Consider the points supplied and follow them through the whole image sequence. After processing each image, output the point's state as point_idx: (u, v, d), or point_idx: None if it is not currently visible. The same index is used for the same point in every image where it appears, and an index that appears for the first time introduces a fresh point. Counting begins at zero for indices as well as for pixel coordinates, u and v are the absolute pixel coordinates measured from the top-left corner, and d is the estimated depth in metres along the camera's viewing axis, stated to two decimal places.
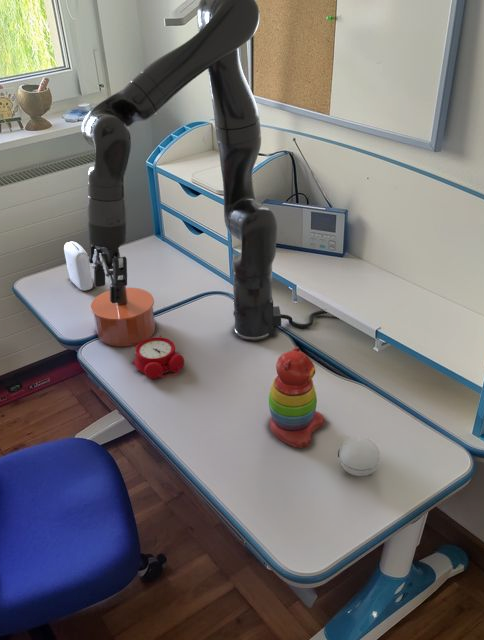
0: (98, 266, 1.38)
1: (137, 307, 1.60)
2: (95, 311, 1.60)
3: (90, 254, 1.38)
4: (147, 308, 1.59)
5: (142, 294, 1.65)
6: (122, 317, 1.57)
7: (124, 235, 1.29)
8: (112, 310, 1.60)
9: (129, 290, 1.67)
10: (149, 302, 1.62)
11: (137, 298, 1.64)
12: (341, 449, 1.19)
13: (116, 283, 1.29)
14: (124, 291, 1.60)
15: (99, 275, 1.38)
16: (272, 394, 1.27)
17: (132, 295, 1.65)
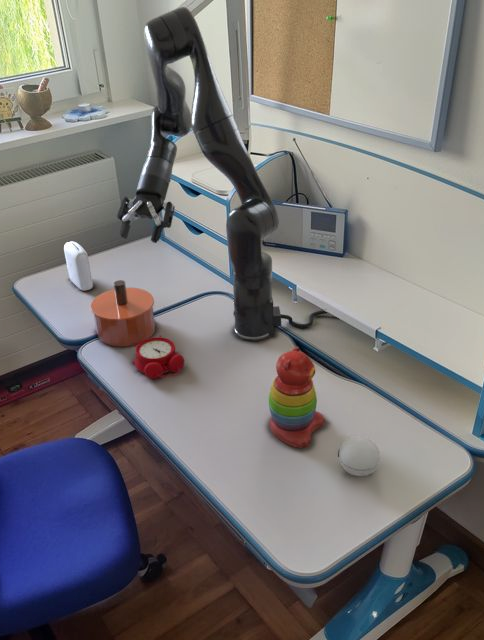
0: None
1: (137, 307, 1.60)
2: (95, 311, 1.60)
3: None
4: (147, 308, 1.59)
5: (142, 294, 1.65)
6: (122, 317, 1.57)
7: (138, 184, 1.65)
8: (112, 310, 1.60)
9: (129, 290, 1.67)
10: (149, 302, 1.62)
11: (137, 298, 1.64)
12: (341, 449, 1.19)
13: None
14: (124, 291, 1.60)
15: None
16: (272, 394, 1.27)
17: (132, 295, 1.65)
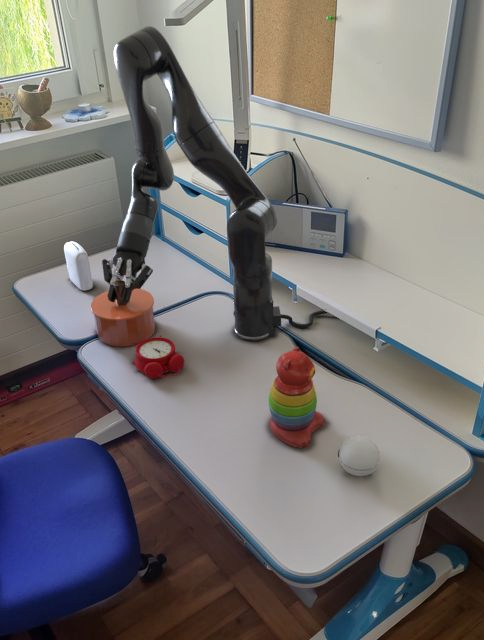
0: None
1: (137, 307, 1.60)
2: (95, 311, 1.60)
3: None
4: (147, 308, 1.59)
5: (142, 294, 1.65)
6: (122, 317, 1.57)
7: (118, 241, 1.61)
8: (112, 310, 1.60)
9: None
10: (149, 302, 1.62)
11: (137, 298, 1.64)
12: (341, 449, 1.19)
13: None
14: None
15: None
16: (272, 394, 1.27)
17: (132, 295, 1.65)
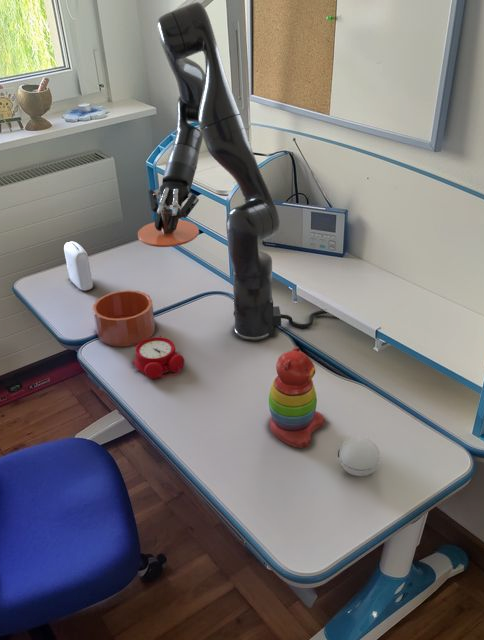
0: None
1: (183, 235, 1.65)
2: (143, 239, 1.65)
3: None
4: (193, 236, 1.65)
5: (187, 224, 1.71)
6: (170, 243, 1.62)
7: (165, 171, 1.66)
8: (159, 238, 1.65)
9: None
10: (194, 231, 1.67)
11: (182, 228, 1.69)
12: (341, 449, 1.19)
13: None
14: None
15: None
16: (272, 394, 1.27)
17: (177, 225, 1.70)
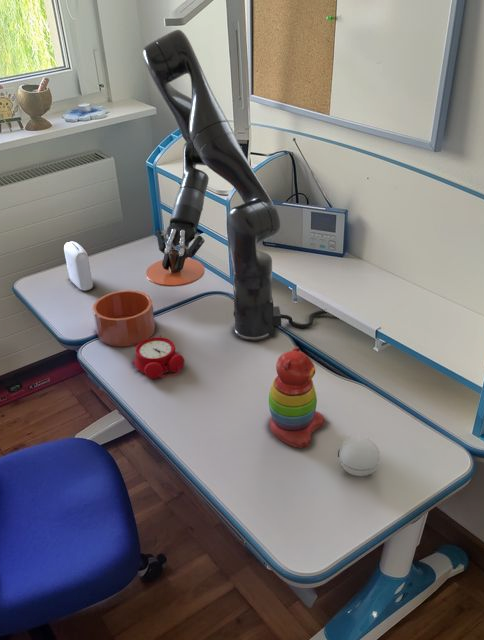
0: None
1: (189, 274, 1.72)
2: (151, 278, 1.72)
3: None
4: (199, 275, 1.72)
5: (193, 263, 1.78)
6: (177, 283, 1.69)
7: (172, 213, 1.73)
8: (167, 277, 1.72)
9: None
10: (200, 270, 1.74)
11: (189, 267, 1.76)
12: (341, 449, 1.19)
13: None
14: None
15: None
16: (272, 394, 1.27)
17: None
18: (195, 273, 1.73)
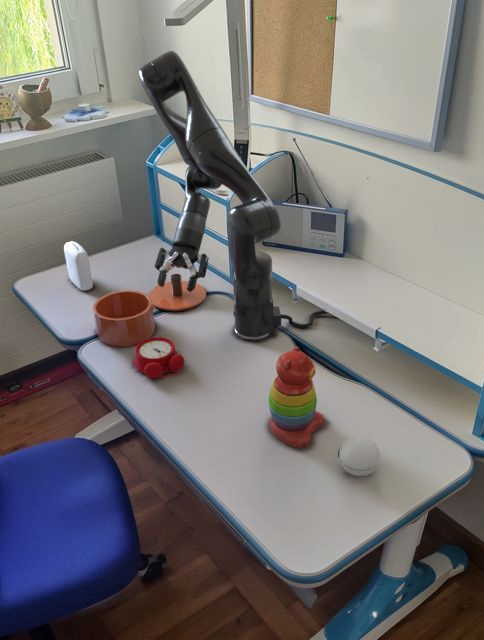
0: None
1: (191, 298, 1.76)
2: (154, 302, 1.76)
3: None
4: (201, 299, 1.76)
5: (195, 286, 1.82)
6: (179, 307, 1.73)
7: (174, 237, 1.77)
8: (169, 300, 1.76)
9: (182, 283, 1.84)
10: (202, 294, 1.78)
11: None
12: (341, 449, 1.19)
13: None
14: (180, 283, 1.76)
15: None
16: (272, 394, 1.27)
17: (185, 287, 1.82)
18: (197, 297, 1.77)
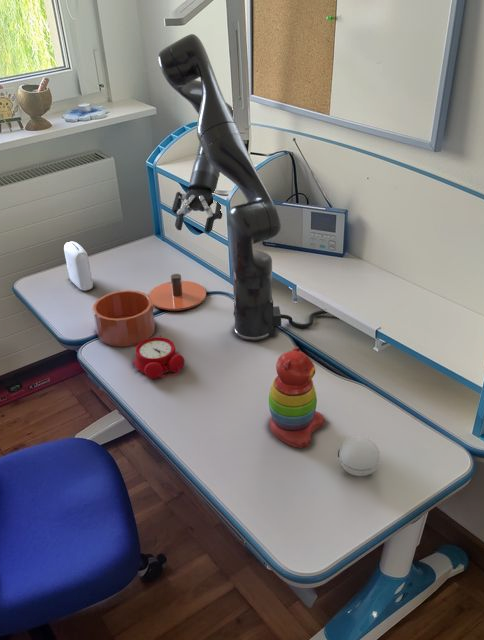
0: None
1: (191, 298, 1.76)
2: (154, 302, 1.76)
3: None
4: (201, 299, 1.76)
5: (195, 286, 1.82)
6: (179, 307, 1.73)
7: (190, 180, 1.80)
8: (169, 300, 1.76)
9: (182, 283, 1.84)
10: (202, 294, 1.78)
11: (191, 290, 1.80)
12: (341, 449, 1.19)
13: None
14: (180, 283, 1.76)
15: None
16: (272, 394, 1.27)
17: (185, 287, 1.82)
18: (197, 297, 1.77)
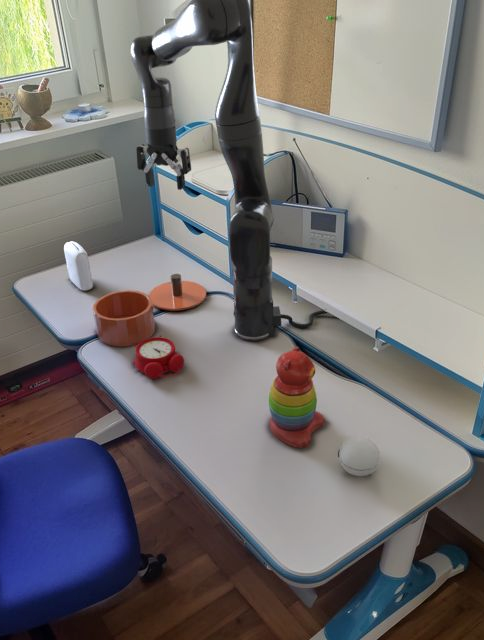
0: None
1: (191, 298, 1.76)
2: (154, 302, 1.76)
3: None
4: (201, 299, 1.76)
5: (195, 286, 1.82)
6: (179, 307, 1.73)
7: (146, 137, 1.63)
8: (169, 300, 1.76)
9: (182, 283, 1.84)
10: (202, 294, 1.78)
11: (191, 290, 1.80)
12: (341, 449, 1.19)
13: None
14: (180, 283, 1.76)
15: None
16: (272, 394, 1.27)
17: (185, 287, 1.82)
18: (197, 297, 1.77)
